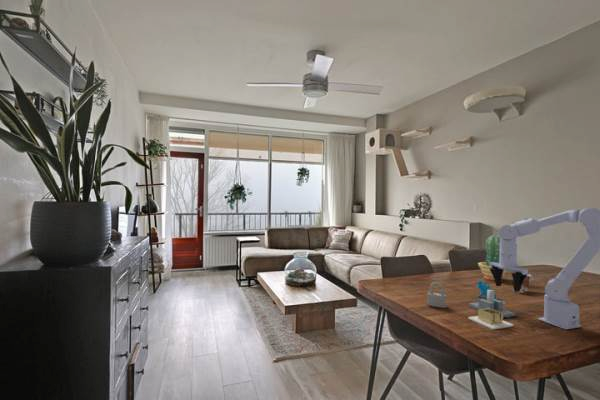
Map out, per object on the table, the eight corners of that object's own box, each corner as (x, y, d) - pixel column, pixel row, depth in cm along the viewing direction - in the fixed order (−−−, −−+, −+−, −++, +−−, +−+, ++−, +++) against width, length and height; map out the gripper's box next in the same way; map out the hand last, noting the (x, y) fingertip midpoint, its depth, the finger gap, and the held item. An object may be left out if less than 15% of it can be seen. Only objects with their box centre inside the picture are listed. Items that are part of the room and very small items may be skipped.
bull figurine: (536, 291, 153) (536, 274, 153) (518, 293, 148) (518, 276, 148) (526, 288, 157) (527, 272, 157) (509, 291, 152) (509, 274, 152)
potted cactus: (513, 283, 168) (514, 237, 168) (482, 280, 171) (483, 236, 171) (502, 276, 183) (502, 234, 183) (473, 274, 186) (474, 233, 186)
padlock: (445, 305, 129) (446, 282, 129) (445, 308, 125) (446, 284, 125) (427, 303, 132) (428, 280, 132) (427, 305, 128) (427, 282, 128)
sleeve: (502, 322, 110) (502, 313, 110) (491, 324, 108) (491, 314, 108) (489, 317, 115) (489, 307, 115) (477, 318, 113) (478, 309, 113)
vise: (521, 315, 119) (521, 294, 119) (499, 318, 115) (499, 296, 115) (489, 303, 132) (489, 284, 132) (468, 306, 129) (468, 286, 129)
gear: (489, 299, 132) (475, 279, 139) (479, 306, 136) (465, 286, 142) (503, 299, 138) (489, 280, 144) (493, 306, 141) (479, 287, 148)
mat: (513, 326, 108) (513, 324, 108) (492, 329, 105) (492, 327, 105) (488, 316, 118) (488, 314, 118) (468, 318, 115) (468, 317, 115)
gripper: (484, 252, 128) (483, 284, 128) (518, 258, 115) (518, 294, 115) (496, 251, 131) (496, 283, 131) (532, 257, 117) (531, 292, 117)
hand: (507, 288), depth 123 cm, fingers open, 7 cm apart
